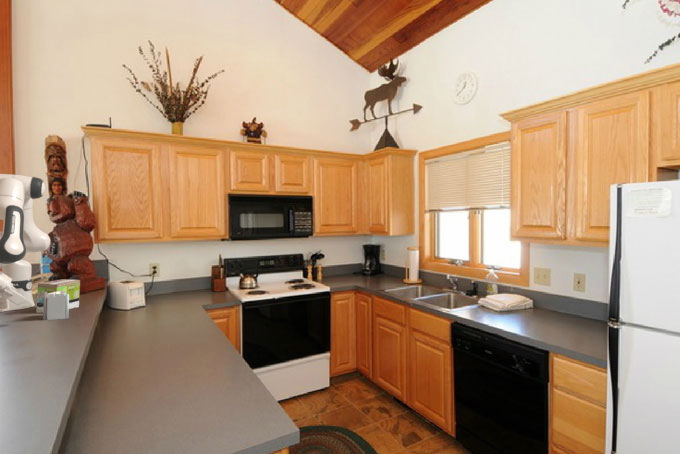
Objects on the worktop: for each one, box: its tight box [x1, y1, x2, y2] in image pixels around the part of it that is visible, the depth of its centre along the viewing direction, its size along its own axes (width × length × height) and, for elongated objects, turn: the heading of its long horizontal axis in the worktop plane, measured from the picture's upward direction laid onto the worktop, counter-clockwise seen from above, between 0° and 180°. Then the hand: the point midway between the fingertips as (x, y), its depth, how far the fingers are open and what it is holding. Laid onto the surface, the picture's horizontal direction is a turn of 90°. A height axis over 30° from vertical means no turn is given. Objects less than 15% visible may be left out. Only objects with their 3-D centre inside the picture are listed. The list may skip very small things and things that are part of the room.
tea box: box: [36, 278, 81, 314], centre depth 177 cm, size 15×10×15 cm, turn 179°
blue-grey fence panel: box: [46, 293, 70, 321], centre depth 160 cm, size 8×1×11 cm, turn 111°
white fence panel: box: [42, 291, 60, 321], centre depth 162 cm, size 1×9×13 cm, turn 6°
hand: (29, 305), depth 151 cm, fingers closed
